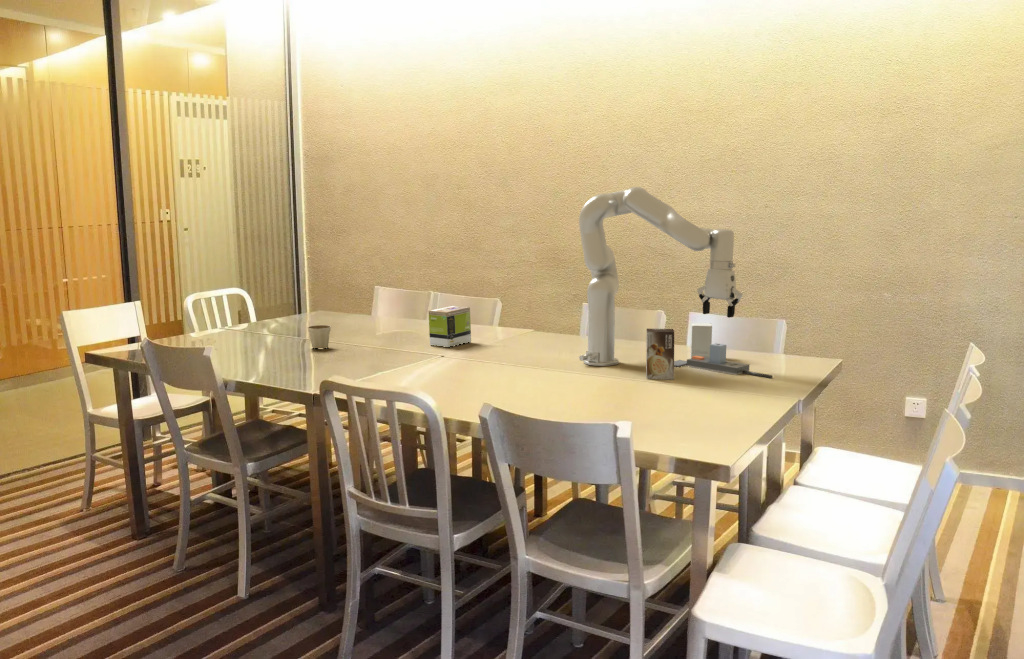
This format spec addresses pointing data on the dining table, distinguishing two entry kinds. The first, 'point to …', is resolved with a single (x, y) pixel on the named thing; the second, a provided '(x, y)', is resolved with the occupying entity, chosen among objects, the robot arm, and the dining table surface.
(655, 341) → the coffee box
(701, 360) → the power strip
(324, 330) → the flower pot
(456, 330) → the tea box
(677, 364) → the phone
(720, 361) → the block
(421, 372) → the dining table surface
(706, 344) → the supplement box
